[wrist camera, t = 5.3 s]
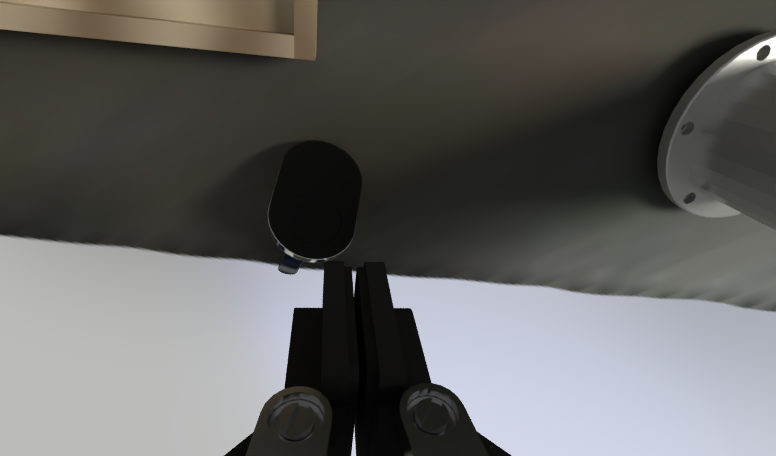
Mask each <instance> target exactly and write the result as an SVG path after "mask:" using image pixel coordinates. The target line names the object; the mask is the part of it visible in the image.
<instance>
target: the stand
mask: <svg viewBox="0 0 776 456" xmlns="http://www.w3.org/2000/svg"><path fill="white" fill-rule="evenodd" d="M361 191H362V176H361V173H360V170H359V168H358V166H357V164H356V163H355V161H354V160H353V159H352V158H351V157H350V155H348V154H347V153H346V152H345V151H344V150H342V149H340V148H339V147H337V146H335V145H333V144H330V143H327V142H323V141H315V140H314V141H305V142H301V143H298V144H296V145H294V146H293V147H291V148H290V149H289V150H288V151H287V152H286V154H285V155H284V157H283V159H282V162H281V165H280V168H279V172H278V175H277V179H276V182H275V186H274V189H273V193H272V196H271V200H270V203H269V207H268V211H267V217H266V218H267V227H268V230H269V233H270V235H271V237H272V239H273V241H274V242H275V243H276V244H277V246H278V247H279V248H280V249H281V250H282V251H284V254H283V256H282V258H281V260H280V263H279V267H278V270H279V271H280V272H282V273H285V274H295V273H297V271H298V269H299V268H300V266H301V264H302V263H303V261H304V262H310V263H321V262H325V261H330V260H332V259H334V258H336V257H338V256H339V255H340V254H342V253H343V252H344V251H345V250H346V248H347V247H348V246H349V245H350V243H351V241H352V240H353V238H354V234H355V230H356V224H357V217H358V211H359V204H360V197H361Z"/></svg>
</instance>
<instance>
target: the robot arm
mask: <svg viewBox="0 0 776 456" xmlns="http://www.w3.org/2000/svg"><path fill="white" fill-rule="evenodd" d="M657 169H658V178H659V181H660V184H661V187H662V190H663V191H664V193H665V194H666V196H667V197H668V199H669V200H670V201H672V202H673V203H674V204H675V205H677V206H678V207H680V208H682V209H683V210H685V211H687V212H689V213H691V214H693V215H697V216H700V217H704V218H722V217H729V216H734V215H737V214H741V213H743V214H745V215H747V216H749V217H751V218H753V219H755V220H757V221H759V222H761V223H762V224H764V225H766V226H768V227H770V228H772V229H774V230H776V30H773V31H770V32H767V33H764V34H761V35H757V36H755V37H753V38H751V39H749V40H747V41H745V42H743V43H741V44H739V45H737V46H735V47H734V48H732V49H731V50H729V51H728V52H727V53H725V54H724V55H722V56H721V57H719V58H718V59H717V60H716V61H715V62H713V63H712V64H711V65H710V66H709V67H708V68H707V69H706V70H705V71H704V72H703V73H701V74H700V75H699V77H698V78H697V79H696V80H695V81H694V82H693V84H692V85H691V86H690V87H689V88H688V89H687V91H686V92H685V93H684V95H683V96H682V98H681V99H680V101H679V102H678V104H677V105H676V107H675V108H674V110H673V112H672V114H671V116H670V118H669V120H668V122H667V124H666V127H665V129H664V132H663V135H662V138H661V142H660V145H659V151H658V159H657ZM354 424H355V441H356V456H511V455H510V454H508V453H507V452H505V451H504V450H502V449H501V448H500V447H498V446H496V445H495V444H494V443H492V442H491V441H489V440H488V439H487V438H485V437H484V436H482V435H481V434H480V433H478V432H477V431H476V429H475V427H474V425H473V423H472V422H471V419H470V417H469V416H468V413H467V411H466V409H465V407H464V405H463V404H462V402H461V401H460V400H459V398H458V397H457V396H456V395H455V394H454V393H453V392H451V391H450V390H449V389H446V388H445V387H443V386H441V385H437V384H433V383H431V380H430V376H429V372H428V369H427V365H426V361H425V357H424V353H423V349H422V346H421V342H420V339H419V334H418V331H417V327H416V323H415V320H414V316H413V312H412V310H411V309H410V308H405V309H404V308H393V303H392V298H391V294H390V289H389V284H388V279H387V274H386V269H385V265H384V263H383V262H365V263H364V267H357V270H356V282H355V293H354V295H353V282H352V269H351V267H344V262H343V261H325V262H324V284H323V308H294V314H293V322H292V331H291V339H290V348H289V356H288V364H287V372H286V381H285V389H283V390H282V391H280V392H278V393H276V394H275V395H273V396H272V397H271V398H270V399H269V400H268V401H267V402H266V403H265V405H264V407H263V409H262V411H261V413H260V416H259V418H258V421H257V424H256V427H255V430H254V432H253V433H252V434H251V435H249V436H248V437H247V438H246V439H244V440H243V441H242V442H241V443H239V444H238V445H237V446H236V447H235V448H233V449H232V450H231V451H230V452H228V453H227V454H226V455H224V456H351V450H352V441H353V432H354Z"/></svg>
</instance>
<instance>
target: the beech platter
mask: <svg viewBox="0 0 776 456" xmlns="http://www.w3.org/2000/svg"><path fill="white" fill-rule="evenodd" d="M317 5H318V0H0V29H4V30H14V31H24V32H34V33H44V34H54V35H64V36H74V37H84V38H94V39H104V40H114V41H124V42H134V43H144V44H154V45H164V46H174V47H184V48H194V49H204V50H214V51H224V52H234V53H244V54H254V55H264V56H274V57H284V58H294V59H304V60H314V61H315V58H316V47H317Z"/></svg>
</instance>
